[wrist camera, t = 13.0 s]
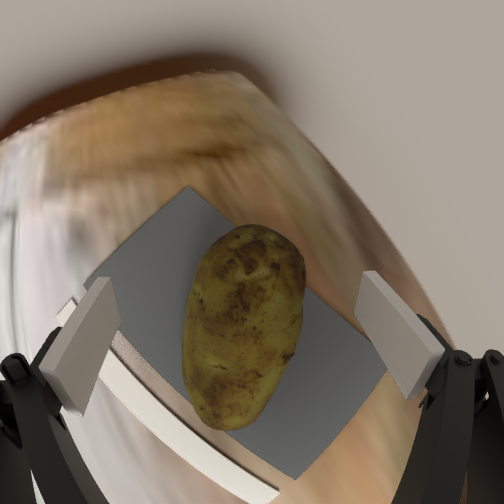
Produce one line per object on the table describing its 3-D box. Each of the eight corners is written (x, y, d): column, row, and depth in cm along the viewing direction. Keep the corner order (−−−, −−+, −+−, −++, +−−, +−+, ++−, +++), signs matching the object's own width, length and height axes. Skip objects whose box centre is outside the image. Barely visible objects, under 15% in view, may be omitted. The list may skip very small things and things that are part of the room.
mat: (389, 361, 21) (392, 361, 21) (294, 477, 17) (295, 480, 17) (188, 189, 25) (188, 186, 25) (85, 286, 21) (83, 284, 21)
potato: (145, 376, 19) (102, 384, 11) (230, 242, 23) (232, 188, 16) (239, 432, 18) (246, 471, 10) (318, 292, 22) (361, 260, 15)
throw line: (279, 491, 16) (280, 492, 16) (259, 508, 16) (260, 509, 15) (72, 300, 21) (71, 299, 20) (57, 317, 20) (55, 317, 20)
